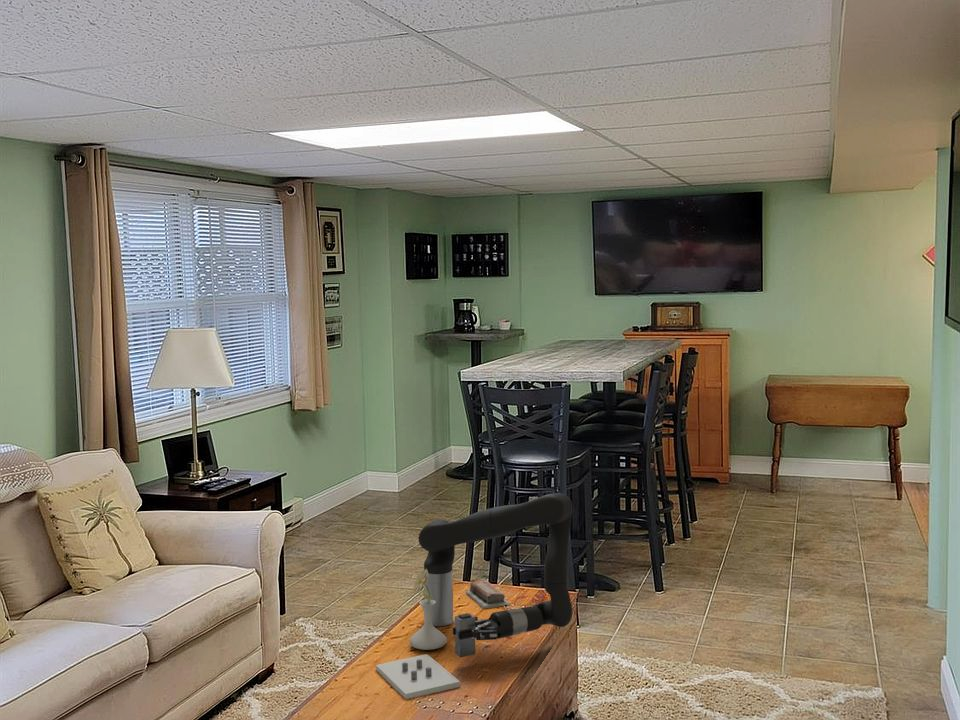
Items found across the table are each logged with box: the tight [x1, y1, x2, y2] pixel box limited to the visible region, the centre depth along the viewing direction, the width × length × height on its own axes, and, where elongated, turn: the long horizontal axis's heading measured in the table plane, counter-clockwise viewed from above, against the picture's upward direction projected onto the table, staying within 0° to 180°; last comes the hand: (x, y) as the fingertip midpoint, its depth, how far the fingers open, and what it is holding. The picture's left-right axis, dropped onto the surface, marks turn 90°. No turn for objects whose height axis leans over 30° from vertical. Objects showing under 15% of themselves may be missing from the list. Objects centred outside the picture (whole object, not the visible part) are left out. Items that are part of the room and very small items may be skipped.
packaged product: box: [465, 580, 511, 610], centre depth 329 cm, size 18×5×10 cm
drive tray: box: [375, 653, 461, 700], centre depth 264 cm, size 22×16×4 cm
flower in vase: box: [409, 568, 448, 651], centre depth 286 cm, size 13×11×25 cm
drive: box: [454, 612, 476, 658], centre depth 272 cm, size 3×5×12 cm, turn 117°
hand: (456, 633), depth 270 cm, fingers closed on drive, 3 cm apart
